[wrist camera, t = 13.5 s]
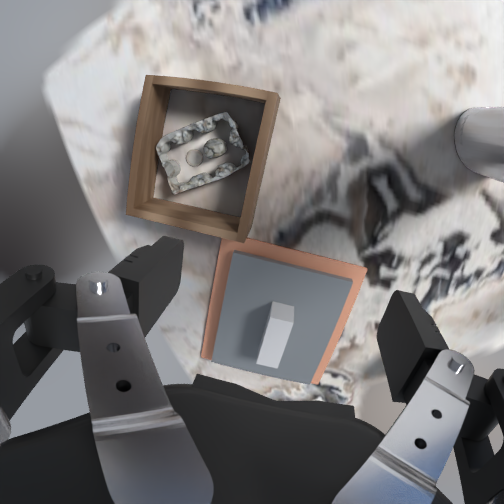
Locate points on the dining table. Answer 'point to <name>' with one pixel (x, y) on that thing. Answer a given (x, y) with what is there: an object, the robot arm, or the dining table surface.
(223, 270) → the mat
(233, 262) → the lid
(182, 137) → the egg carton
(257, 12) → the dining table surface
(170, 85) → the box
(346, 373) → the dining table surface
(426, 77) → the dining table surface
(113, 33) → the dining table surface
